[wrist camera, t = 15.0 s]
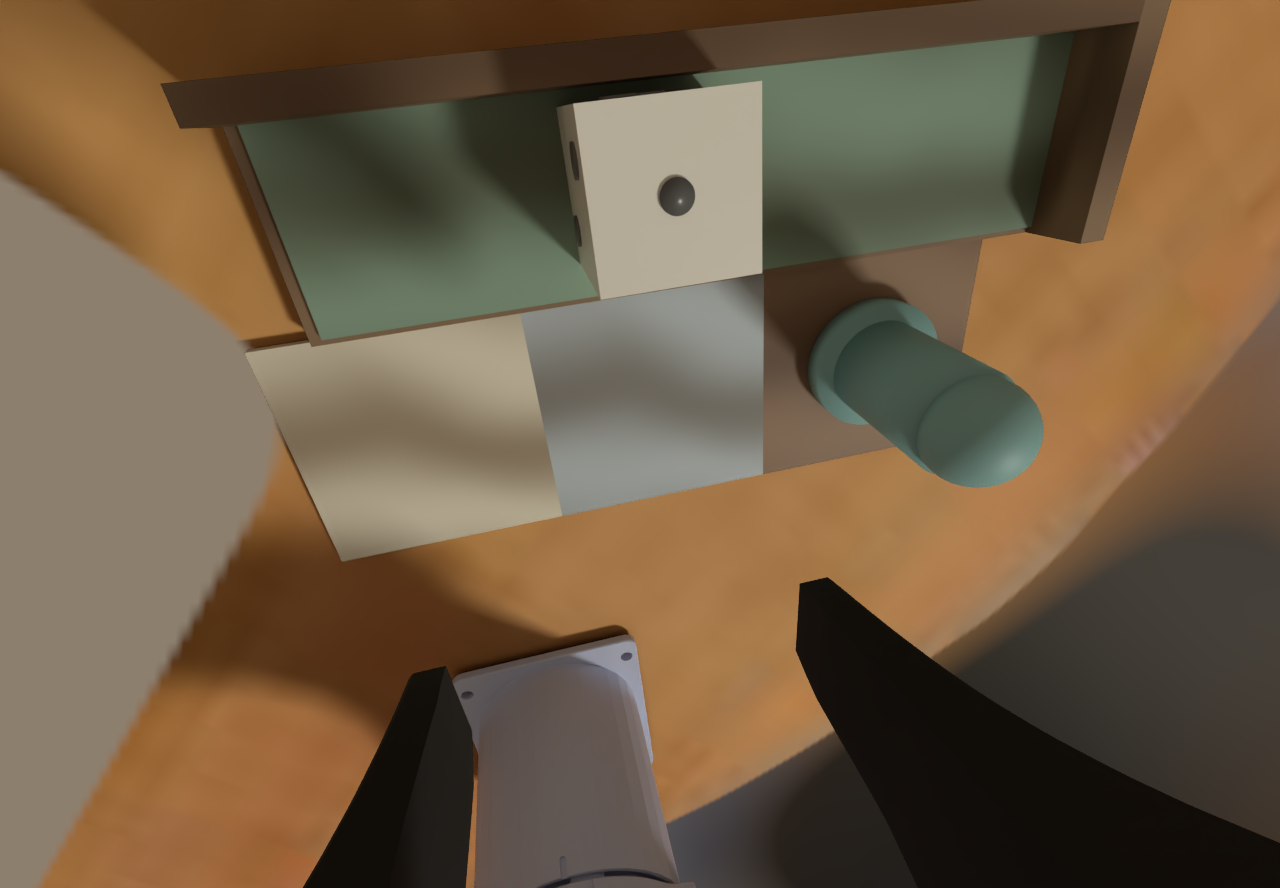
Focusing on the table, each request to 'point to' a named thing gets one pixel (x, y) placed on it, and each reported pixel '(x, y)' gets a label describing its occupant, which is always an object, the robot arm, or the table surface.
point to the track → (582, 400)
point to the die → (666, 186)
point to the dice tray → (585, 70)
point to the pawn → (924, 394)
